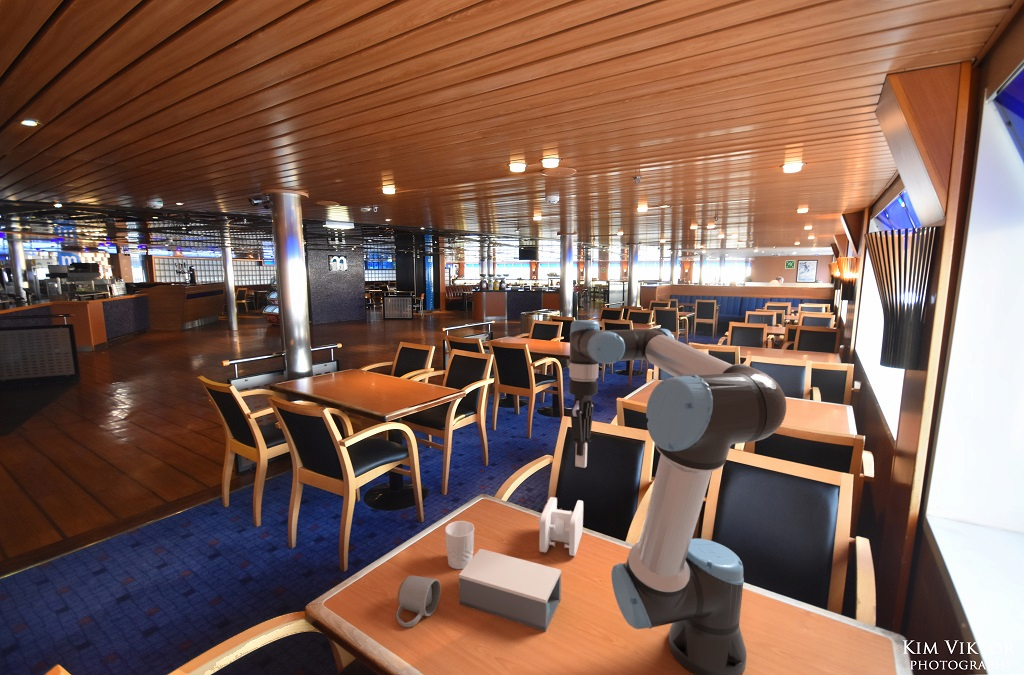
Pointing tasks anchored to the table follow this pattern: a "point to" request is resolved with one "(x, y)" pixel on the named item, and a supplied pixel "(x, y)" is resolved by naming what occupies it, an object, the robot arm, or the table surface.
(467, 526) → the white cup
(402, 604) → the ceramic mug
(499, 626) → the table surface
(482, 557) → the panel
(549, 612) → the cable duct
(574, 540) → the cable organizer
